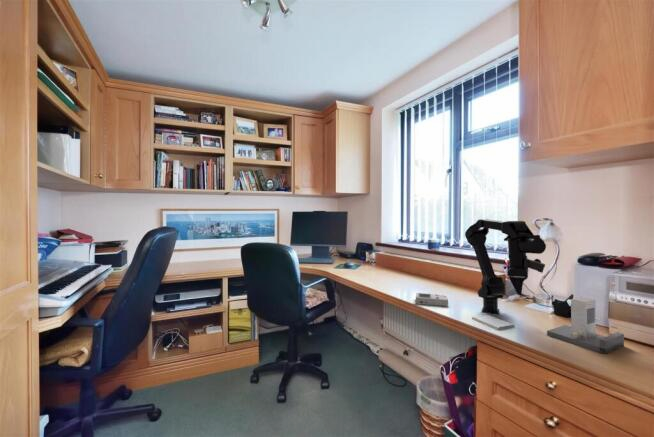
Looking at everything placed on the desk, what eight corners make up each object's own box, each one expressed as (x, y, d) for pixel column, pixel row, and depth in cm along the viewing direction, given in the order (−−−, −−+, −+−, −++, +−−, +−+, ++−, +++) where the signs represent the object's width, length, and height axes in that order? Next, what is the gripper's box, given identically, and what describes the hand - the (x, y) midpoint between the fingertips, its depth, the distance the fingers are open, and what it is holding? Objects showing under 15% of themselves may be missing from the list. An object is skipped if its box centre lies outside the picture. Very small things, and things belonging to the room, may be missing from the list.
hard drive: (514, 324, 108) (487, 314, 120) (498, 327, 106) (471, 316, 118) (514, 329, 108) (487, 317, 120) (498, 331, 106) (471, 320, 118)
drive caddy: (571, 335, 97) (570, 299, 97) (581, 332, 100) (580, 296, 100) (586, 340, 93) (585, 302, 93) (596, 336, 96) (595, 299, 96)
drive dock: (547, 334, 101) (547, 323, 101) (565, 328, 106) (565, 318, 106) (606, 354, 87) (606, 341, 87) (623, 346, 92) (623, 333, 92)
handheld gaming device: (448, 307, 134) (448, 299, 134) (415, 304, 139) (415, 296, 139) (447, 302, 142) (447, 295, 142) (416, 299, 147) (416, 292, 147)
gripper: (543, 254, 99) (546, 299, 98) (541, 251, 114) (544, 290, 113) (506, 253, 106) (508, 296, 105) (509, 251, 121) (511, 288, 120)
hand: (519, 292), depth 110 cm, fingers open, 9 cm apart
